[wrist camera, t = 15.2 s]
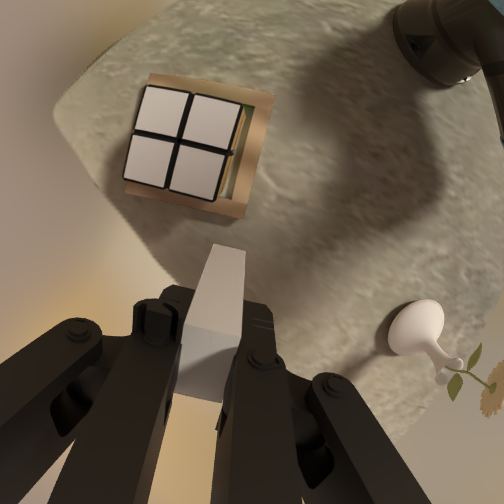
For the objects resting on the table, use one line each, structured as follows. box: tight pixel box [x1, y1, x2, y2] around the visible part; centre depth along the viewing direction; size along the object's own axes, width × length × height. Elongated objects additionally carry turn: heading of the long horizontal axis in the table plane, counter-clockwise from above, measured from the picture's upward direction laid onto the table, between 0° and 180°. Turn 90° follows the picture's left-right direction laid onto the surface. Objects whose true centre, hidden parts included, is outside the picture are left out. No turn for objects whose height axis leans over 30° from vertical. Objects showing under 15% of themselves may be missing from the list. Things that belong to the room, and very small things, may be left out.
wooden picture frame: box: [124, 73, 276, 219], centre depth 35 cm, size 16×16×2 cm
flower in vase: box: [388, 299, 504, 418], centre depth 34 cm, size 13×11×25 cm
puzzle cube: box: [122, 84, 246, 203], centre depth 31 cm, size 10×10×10 cm
